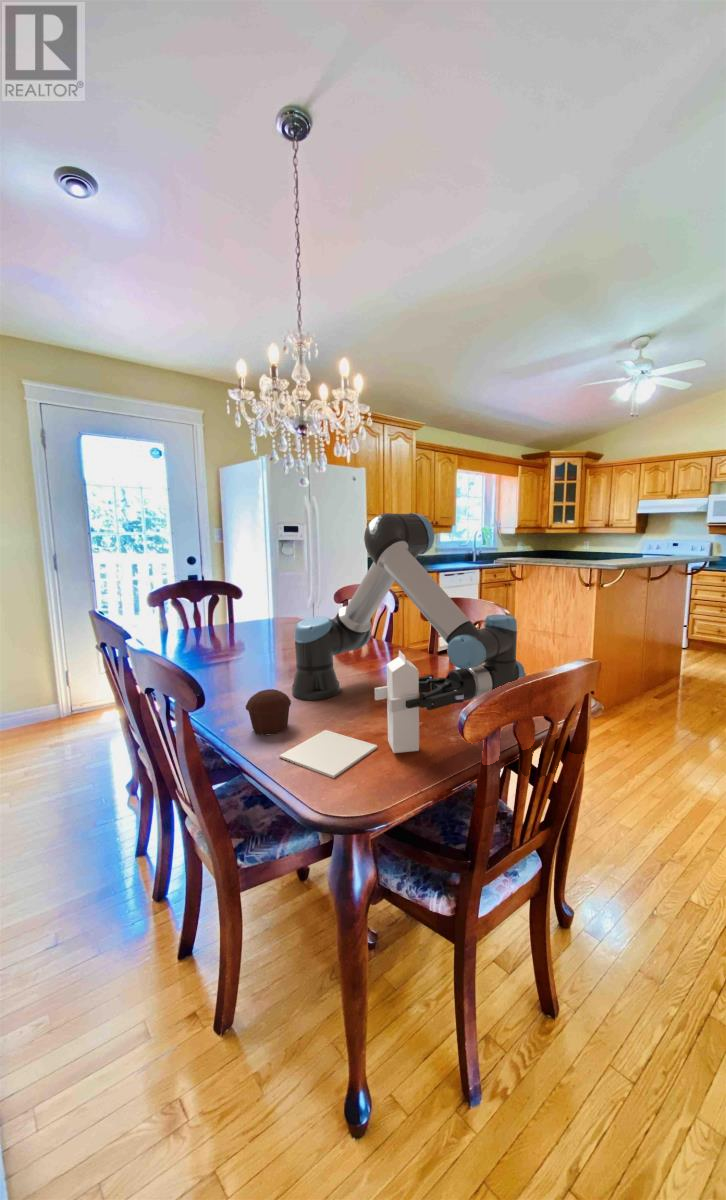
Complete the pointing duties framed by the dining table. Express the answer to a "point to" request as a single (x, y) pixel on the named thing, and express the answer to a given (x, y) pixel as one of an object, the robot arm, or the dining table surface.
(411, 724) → the milk
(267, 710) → the muffin
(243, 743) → the dining table surface
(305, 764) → the mat
